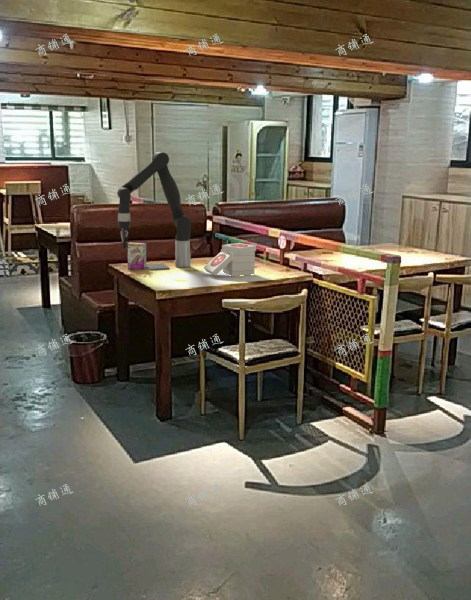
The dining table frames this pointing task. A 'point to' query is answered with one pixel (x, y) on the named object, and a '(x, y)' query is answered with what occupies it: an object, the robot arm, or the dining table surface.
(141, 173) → the robot arm
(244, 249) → the stack of white boxes
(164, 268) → the mat
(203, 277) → the dining table surface
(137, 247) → the candy bar box
